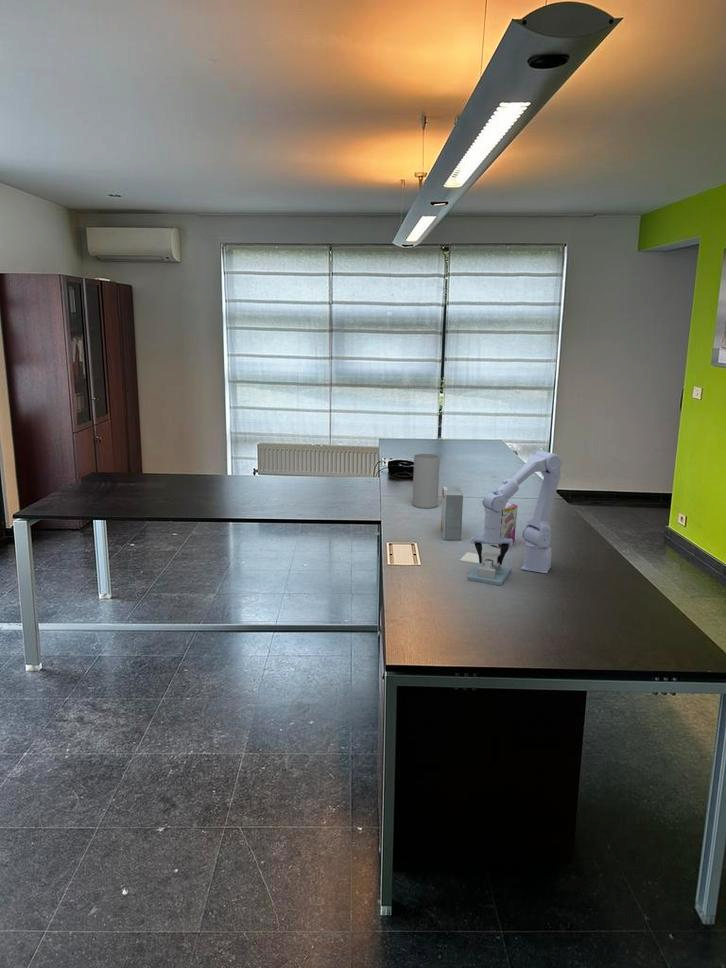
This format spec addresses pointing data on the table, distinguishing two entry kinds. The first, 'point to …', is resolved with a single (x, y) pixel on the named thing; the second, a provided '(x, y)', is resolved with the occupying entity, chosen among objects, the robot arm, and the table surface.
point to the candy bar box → (508, 522)
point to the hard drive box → (451, 512)
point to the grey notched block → (491, 558)
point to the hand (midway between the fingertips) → (490, 563)
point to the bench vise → (489, 573)
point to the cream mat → (470, 558)
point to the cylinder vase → (426, 480)
